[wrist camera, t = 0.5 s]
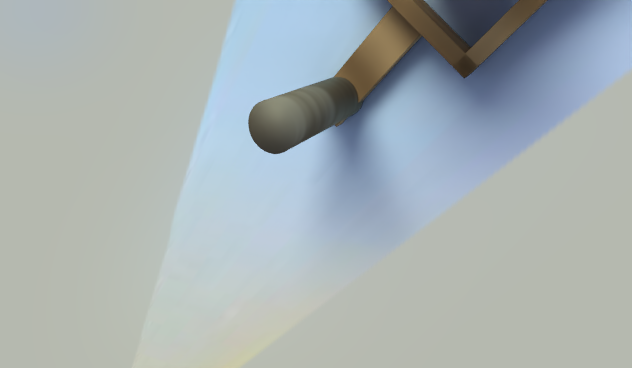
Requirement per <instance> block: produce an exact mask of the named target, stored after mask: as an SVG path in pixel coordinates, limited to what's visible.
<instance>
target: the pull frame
mask: <svg viewBox="0 0 632 368" xmlns="http://www.w3.org/2000/svg"><path fill="white" fill-rule="evenodd" d="M387 1H388V2H389V3H390V4H391V5H392V8H391V9H390V10H389V11H388V12H387V14H386V15H385V16H384V17H383V18H382V20H381V21H380V22H379V23H378V24H377V26H376V27H375V28H374V29H373V30H372V32H371V33H370V34H369V35H368V36H367V38H366V39H365V40H364V41H363V42H362V44H361V45H360V46H359V47H358V48H357V50H356V51H355V52H354V53H353V55H352V56H351V57H350V58H349V59H348V61H347V62H346V63H345V64H344V65H343V67H342V68H341V69H340V70H339V71H338V73H337V74H336V75H335V76H334V77H333V78H330V79H327V80H324V81H321V82H318V83H315V84H312V85H309V86H306V87H303V88H300V89H297V90H294V91H291V92H288V93H285V94H282V95H279V96H276V97H273V98H270V99H267V100H264V101H261V102H259V103H257V104H256V105H255V106H254V107H253V109H252V110H251V112H250V115H249V122H248V124H249V131H250V134H251V136H252V138H253V140H254V142H255V143H256V144H257V145H258V146H259V147H260V148H261V149H262V150H264V151H266V152H268V153H272V154H279V153H283V152H285V151H287V150H288V149H290V148H292V147H294V146H296V145H298V144H300V143H301V142H303V141H305V140H307V139H309V138H311V137H313V136H314V135H316V134H318V133H320V132H322V131H324V130H326V129H327V128H329V127H331V126H333V125H335V126H336V127H337V126H339V125H340V124H342V123H343V122H344V121H345V120H346V119H347V118H348V117H350V116H352V115H353V114H355V113H357V112H358V111H359V109H360V108H361V106H362V103H363V100H364V99H365V98H366V97H367V96H368V95H369V93H370V92H371V91H372V90H373V89H374V88H375V87H376V86H377V85H378V84H379V83H380V81H381V80H382V79H383V78H384V77H385V76H386V75H387V74H388V73H389V72H390V70H391V69H392V68H393V67H394V66H395V65H396V64H397V63H398V62H399V61H400V60H401V58H402V57H403V56H404V55H405V54H406V53H407V52H408V51H409V50H410V49H411V47H412V46H413V45H414V44H415V43H416V42H417V41H418V40H419V39H420V38H421V37H422V36H423V37H424V38H425V39H426V40H427V41H428V42H429V43H430V44H431V45H432V46H433V47H434V48H435V49H436V50H437V51H438V52H439V53H440V54H441V55H442V56H443V57H444V58H445V59H446V60H447V61H448V62H449V63H450V64H451V65H452V66H453V67H454V68H455V69H456V70H457V71H458V72H459V73H460V75H461V76H462V77H463V78H466V77H467V76H468V75H469V74H471V73H472V72H473V71H474V70H475V69H476V68H477V67H478V66H479V65H480V64H481V63H482V62H484V61H485V60H486V59H487V58H488V57H489V56H490V55H491V54H492V53H493V52H494V51H495V50H496V49H497V48H498V47H499V46H500V45H501V44H502V43H503V42H505V41H506V40H507V39H508V38H509V37H510V36H511V35H512V34H513V33H514V32H515V31H516V30H517V29H518V28H519V27H520V26H521V25H522V24H523V23H524V22H525V21H527V20H528V19H529V18H530V17H531V16H532V15H533V14H534V13H535V12H536V11H537V10H538V9H539V8H540V7H541V6H542V5H543V4H544V3H545V2H546V1H548V0H519V1H518V2H517V3H516V4H515V5H514V6H513V7H512V8H511V9H510V10H509V11H508V12H507V13H506V14H505V15H504V16H503V17H502V18H501V19H500V20H499V21H497V22H496V23H495V24H494V25H493V26H492V27H491V28H490V29H489V30H488V31H487V32H486V33H485V34H484V35H483V36H482V37H481V38H480V39H479V40H478V41H477V42H476V43H475V44H474V45H473V46H472V47H470V46H469V45H468V44H467V43H466V42H465V41H464V40H463V39H462V38H461V37H460V36H459V35H458V34H457V33H456V32H455V31H454V30H453V29H452V28H451V27H450V26H449V25H448V24H447V23H446V22H445V21H444V20H443V19H442V18H441V17H440V16H439V15H438V14H437V13H436V12H435V11H434V10H433V9H432V8H431V7H430V6H429V5H428V4H427V3H426V2H425V1H424V0H387Z"/></svg>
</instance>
